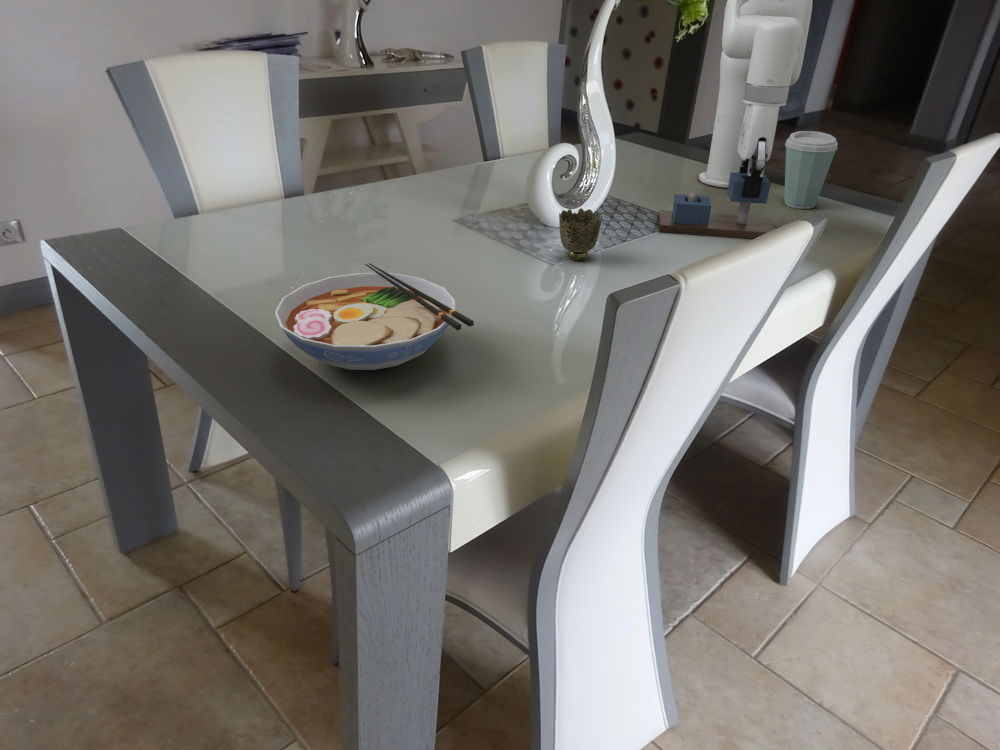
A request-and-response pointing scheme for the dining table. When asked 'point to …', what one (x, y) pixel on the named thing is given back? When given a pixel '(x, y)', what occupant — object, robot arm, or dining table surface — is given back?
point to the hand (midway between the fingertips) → (747, 191)
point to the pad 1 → (691, 210)
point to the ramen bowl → (367, 318)
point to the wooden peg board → (719, 223)
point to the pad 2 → (737, 187)
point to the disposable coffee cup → (807, 167)
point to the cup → (579, 232)
